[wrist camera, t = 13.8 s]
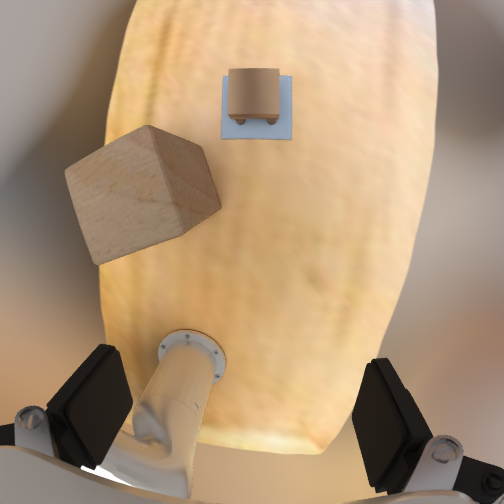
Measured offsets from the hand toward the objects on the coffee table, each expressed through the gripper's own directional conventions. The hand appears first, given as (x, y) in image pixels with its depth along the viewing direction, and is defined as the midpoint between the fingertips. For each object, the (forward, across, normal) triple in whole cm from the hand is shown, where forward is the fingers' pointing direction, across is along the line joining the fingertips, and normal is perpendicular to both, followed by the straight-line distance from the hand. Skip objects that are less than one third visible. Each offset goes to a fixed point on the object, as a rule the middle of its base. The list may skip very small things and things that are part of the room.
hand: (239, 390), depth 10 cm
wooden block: (+34, +12, -6) cm, 37 cm away
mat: (+34, +1, -18) cm, 39 cm away
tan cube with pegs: (+34, +1, -18) cm, 38 cm away
